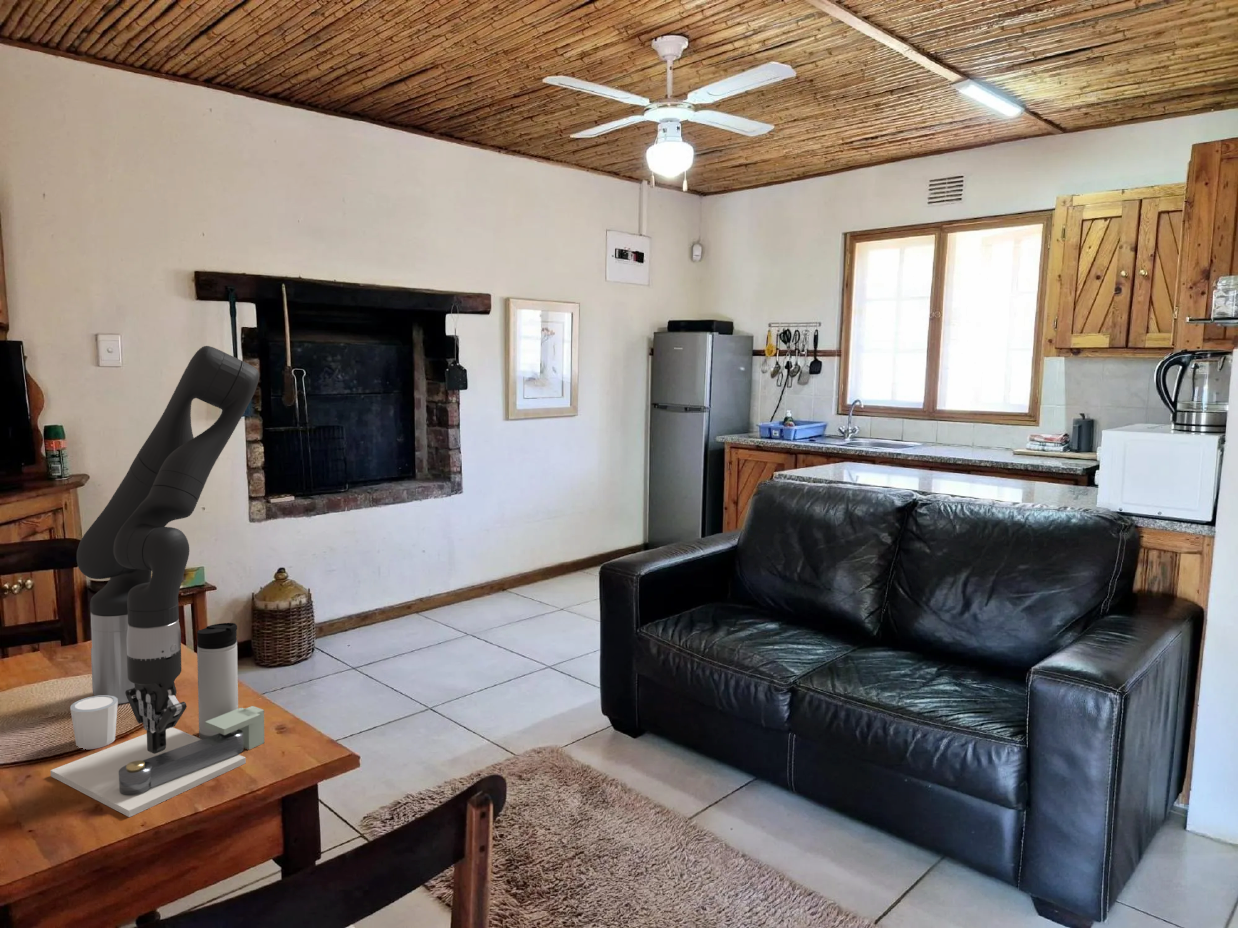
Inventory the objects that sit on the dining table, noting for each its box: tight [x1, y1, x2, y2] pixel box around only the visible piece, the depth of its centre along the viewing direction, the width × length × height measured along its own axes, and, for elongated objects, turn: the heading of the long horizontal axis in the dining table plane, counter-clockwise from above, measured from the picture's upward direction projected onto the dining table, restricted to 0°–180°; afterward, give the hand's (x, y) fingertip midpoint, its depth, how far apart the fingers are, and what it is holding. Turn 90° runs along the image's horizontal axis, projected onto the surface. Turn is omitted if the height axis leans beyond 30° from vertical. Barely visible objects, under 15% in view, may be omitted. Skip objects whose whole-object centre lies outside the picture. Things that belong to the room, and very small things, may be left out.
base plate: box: [50, 727, 247, 818], centre depth 130 cm, size 21×19×1 cm
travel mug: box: [196, 622, 239, 739], centre depth 142 cm, size 6×7×20 cm
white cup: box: [70, 695, 119, 750], centre depth 138 cm, size 7×7×7 cm
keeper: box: [205, 705, 265, 750], centre depth 137 cm, size 5×8×6 cm, turn 151°
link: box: [119, 729, 244, 795], centre depth 128 cm, size 19×4×4 cm, turn 145°
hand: (156, 750), depth 131 cm, fingers closed
